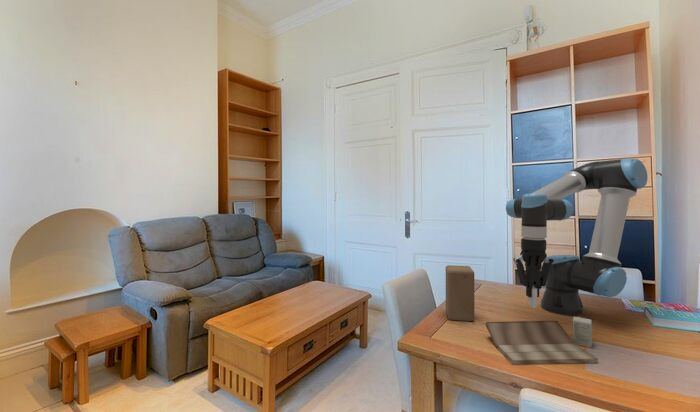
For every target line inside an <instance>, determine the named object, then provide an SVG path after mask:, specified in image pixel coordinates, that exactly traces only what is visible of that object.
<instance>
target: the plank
mask: <svg viewBox="0 0 700 412" xmlns="http://www.w3.org/2000/svg"><path fill="white" fill-rule="evenodd" d="M485 326H486V329H487V331H488V333H489V335H490V337H491V340H492V342H493V344H494V345H495V348H496V349H498V345H538V344H574V343H573V339H571V337H570V335H569V334H568V333H567V332H566V329H564V328H563V327H562V325H561V323H560V322H559V320H522V321H521V320H520V321H519V320H517V321H513V320H512V321H486V322H485Z"/></svg>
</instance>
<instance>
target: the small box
mask: <svg viewBox="0 0 700 412" xmlns="http://www.w3.org/2000/svg"><path fill="white" fill-rule="evenodd" d="M592 326H593V322H592V319H589V318H585V317H579V316H573V317H572V341H573V343H574V344H576V345H578V346H579V345H580V346H584V347H589V348H592V347H593V346H592V345H593V343H592V342H593V336H592V335H593V329H592V328H593V327H592Z"/></svg>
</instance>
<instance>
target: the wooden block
mask: <svg viewBox="0 0 700 412" xmlns="http://www.w3.org/2000/svg"><path fill="white" fill-rule="evenodd" d="M445 312H446V316H447V318H448V320H449V321H451V320H452V321H465V322H474V321H475V271H474V270H473V269H472V267H470V266H469V265H450V264H449V265H448V264H447V265H446V266H445Z"/></svg>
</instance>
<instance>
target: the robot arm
mask: <svg viewBox="0 0 700 412" xmlns="http://www.w3.org/2000/svg"><path fill="white" fill-rule="evenodd" d="M647 183H648V171H647V168H646V166H645V164H644V162H642V161H641V160H640V159H638V158H635V157H634V158H622V159H621V158H620V159H618V158H617V159H610V160H601V161H592V162H588V163H585V164H582V165H580V166H578V167H576V168H573V169H570V170H569V171H567V172H565V173H564V174H563V175H562V177H560V178H559V179H556V180H554V181H552V182H551V183H549V184H547V185H545V186H543V187H540V189H537V190H535V191H533V192H531V193H525V194H522V197H521V198H512V199H509V200H508V201H507V202H506V205H505V211H506V214H507V216H508V217H511V218H516V219H521V224H520V225H521V230H520V231H521V232H520V233H521V235H520V237H522V238H521V239H520V249H521V252H520V253H519V256H518V257H513V259H512V260H513V262H514V263H515V266H516V269H517V270H516V271H517V274H518V278H519V282H520V285H522V286H524V287H525V296H526V297H527V305H528V306H529V307H531V308H533V309H535V308H538V298H539V297H540V290H542V288H543V287H545V289H544V291H543V295H542V298H540V299H541V300H540V307H541V308H542V309H544V310H546V311H548V312H551V313H555V314H559V315H563V316H564V315H565V316H579V315H580V316H581V315H583V314H584V311H585V309H584V304H583V302H582V299H581V297H580V294H579V291H582V292H587V293H590V294H594V295H597V296H600V297H601V296H602V297H607V298H613V297H616V296H618V295H619V294H620V293H621V292H622V291H623V290H624V288H625V286H626V283H627V280H628V277H627V273H626V270H625V269H623V268H622V263H621V261H619V259H618V255H619V250H620V246H621V242H622V237H623V233H624V227H625V222H626V219H627V215H628V214H627V213H628V208H629V203H630V199H631V198H634V197H635V196H636V195H637V191H638V190H640V189H643V188H645V186H646V185H647ZM585 190H597V192H598V193H599V194H600V195H601V197H600V201H599V205H598V209H597V210H598V211H597V214H596V219H595V223H594V227H593V233H592V237H591V242H590V247H589V250H588V251H589V252H588V253H586V254H584V255H583V256H582V260H580V257H579V256H578V255H575V254H556V255H555V254H554V255H553V254H552V255H547V252H546V250H547V240H546V238H547V237H548V236H547V234H548V231H547V229H548V226H547V224H548V222H549V221H558V222H561V221H565V220H568V219H570V218H571V216H572V215H573V213H574V207H573V204H572V203H571V201H569V200H567V199H563V198H566V197H568V196H570V195H571V194H573V193H581V192H583V191H585ZM547 221H548V222H547ZM523 263H524V264H523Z"/></svg>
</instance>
